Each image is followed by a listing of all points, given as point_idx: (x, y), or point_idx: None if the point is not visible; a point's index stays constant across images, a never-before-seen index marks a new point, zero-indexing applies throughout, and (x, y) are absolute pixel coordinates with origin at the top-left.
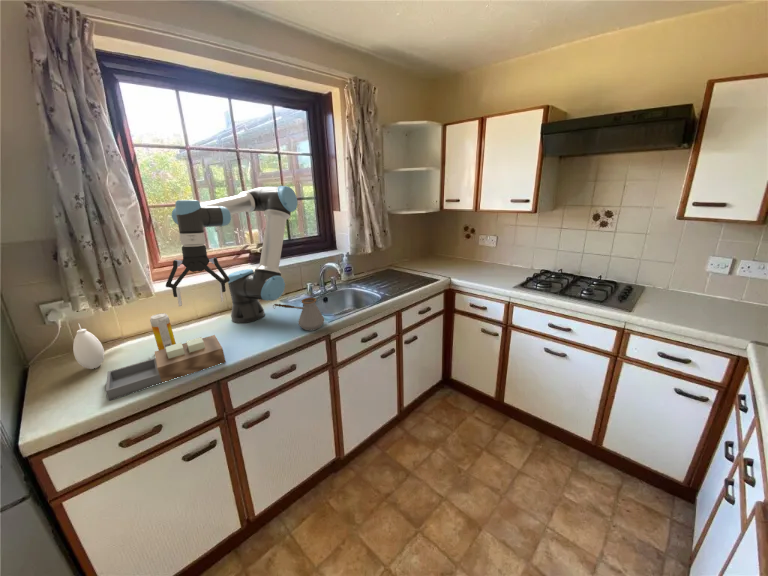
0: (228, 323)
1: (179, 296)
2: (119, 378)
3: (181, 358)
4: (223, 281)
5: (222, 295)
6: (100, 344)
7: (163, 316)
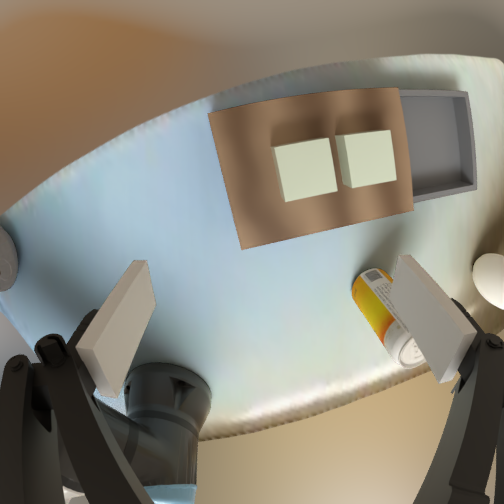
0: (218, 378)
1: (432, 292)
2: (453, 175)
3: (342, 106)
4: (47, 366)
5: (117, 283)
6: (494, 289)
7: (409, 343)
